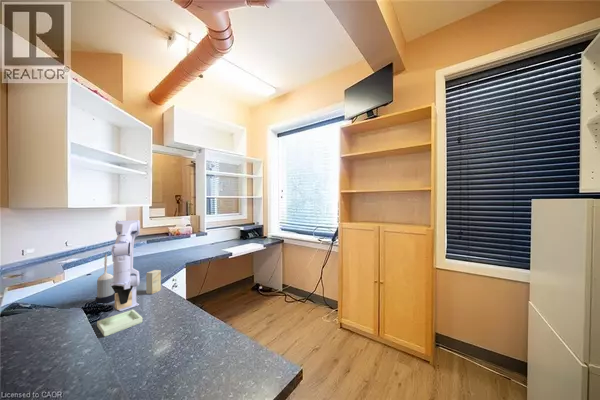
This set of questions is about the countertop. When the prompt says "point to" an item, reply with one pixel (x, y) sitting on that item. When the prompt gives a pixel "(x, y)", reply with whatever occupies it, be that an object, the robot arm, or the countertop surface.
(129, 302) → the block
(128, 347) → the countertop surface
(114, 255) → the robot arm
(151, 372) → the countertop surface
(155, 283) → the light wooden block
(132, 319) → the tray
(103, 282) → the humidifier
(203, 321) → the countertop surface
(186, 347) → the countertop surface
